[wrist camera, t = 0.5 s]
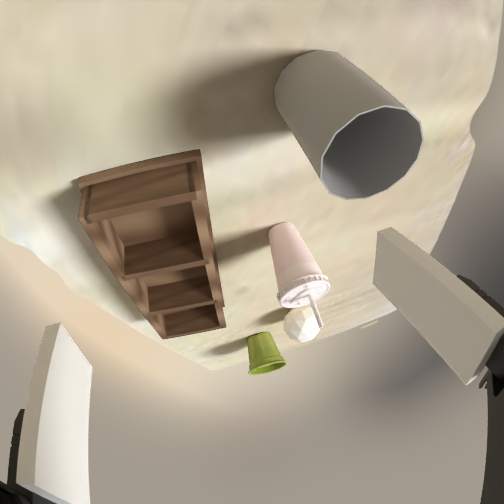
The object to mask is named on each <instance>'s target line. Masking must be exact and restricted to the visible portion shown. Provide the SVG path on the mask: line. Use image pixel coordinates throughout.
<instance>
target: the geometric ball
mask: <svg viewBox="0 0 504 504" xmlns="http://www.w3.org/2000/svg"><path fill="white" fill-rule="evenodd" d="M284 330H285V332H286V333H287V335H288V336H289V337H290V339H293V340H296V341H299V342H301V343H302V342H305V341H309V340H312V339H313V338H314V337H315V336H316V335H317V333H318V332H319V331H320V328H319V326H318V323H317V320H316V318H315V315H314V312H313V309H312V308H311V307H308V306H301V307H296V308H292V309H291V310H290V311H289V312H288V313H287V315H286V316H285V317H284Z"/></svg>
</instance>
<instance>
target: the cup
mask: <svg viewBox="0 0 504 504" xmlns="http://www.w3.org/2000/svg"><path fill="white" fill-rule="evenodd" d="M274 96H275V107H276V108H277V110H278V111H279V113H280V114H281V116H282V118H283V119H284V121H285V122H286V124H287V125H288V127H289V128H290V130H291V132H292V133H293V135H294V136H295V138H296V140H297V141H298V143H299V144H300V146H301V148H302V149H303V151H304V153H305V154H306V156H307V158H308V159H309V161H310V163H311V164H312V166H313V168H314V169H315V171H316V173H317V175H318V176H319V178H320V180H321V181H322V183H323V184H324V186H325V187H326V189H327V190H328V192H329V193H330V194H332V195H334V196H337V197H339V198H342V199H345V200H355V199H367V198H369V197H372V196H374V195H377V194H379V193H381V192H384V191H386V190H388V189H389V188H391V187H392V186H393V185H394V184H396V183H397V182H398V181H400V180H401V179H402V178H404V177H405V176H406V174H407V173H408V172H409V170H410V169H411V168H412V166H413V165H414V164H415V162H416V161H417V159H418V157H419V154H420V151H421V147H422V144H423V141H424V138H423V132H422V127H421V122H420V121H419V120H418V119H417V118H416V117H415V116H414V115H413V114H412V113H411V112H410V111H409V110H408V109H407V108H406V107H405V106H404V105H403V104H402V103H400V102H399V101H398V100H397V99H396V98H395V97H394V96H392V95H391V94H390V93H389V92H388V91H387V90H385V89H384V88H383V87H382V86H381V85H379V84H378V83H377V82H376V81H375V80H373V79H372V78H371V77H370V76H368V75H367V74H366V73H365V72H363V71H362V70H361V69H359V68H358V67H357V66H355V65H354V64H353V63H351V62H350V61H349V60H347V59H346V58H344V57H343V56H342V55H340V54H339V53H337V52H331V51H324V50H315V51H312V52H309V53H306V54H303V55H299V56H297V57H296V58H295V59H294V60H293V61H291V62H290V63H289V64H288V65H287V66H286V67H285V68H284V69H283V70H282V71H281V73H280V75H279V78H278V80H277V82H276V85H275V87H274Z"/></svg>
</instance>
